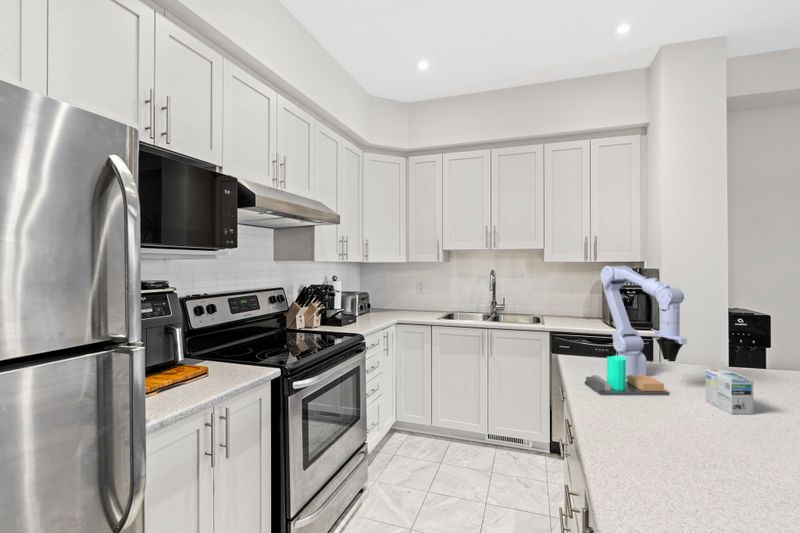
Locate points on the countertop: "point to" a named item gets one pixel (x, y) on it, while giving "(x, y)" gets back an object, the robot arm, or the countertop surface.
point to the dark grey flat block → (605, 389)
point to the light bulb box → (729, 391)
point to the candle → (616, 372)
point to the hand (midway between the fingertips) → (669, 360)
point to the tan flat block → (645, 383)
